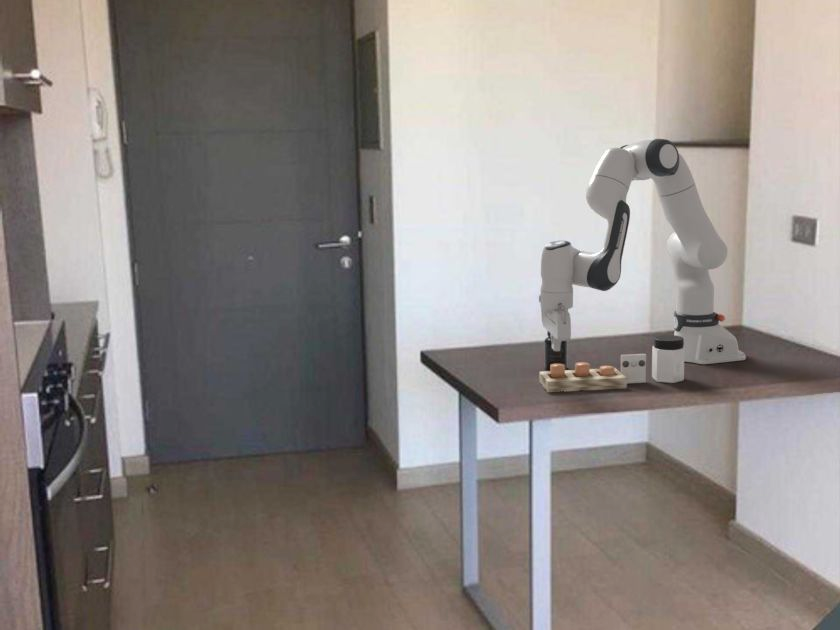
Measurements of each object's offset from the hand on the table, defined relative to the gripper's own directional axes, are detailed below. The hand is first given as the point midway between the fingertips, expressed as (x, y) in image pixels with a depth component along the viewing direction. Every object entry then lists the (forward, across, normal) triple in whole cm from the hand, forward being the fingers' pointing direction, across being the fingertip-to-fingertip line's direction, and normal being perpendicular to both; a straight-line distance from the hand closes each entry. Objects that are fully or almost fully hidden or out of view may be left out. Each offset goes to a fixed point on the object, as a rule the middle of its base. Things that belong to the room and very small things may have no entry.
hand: (555, 350), depth 273 cm
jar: (+10, +2, -33) cm, 34 cm away
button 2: (+8, 0, -15) cm, 17 cm away
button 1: (+7, 0, -1) cm, 7 cm away
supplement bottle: (+10, +19, -4) cm, 23 cm away
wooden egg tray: (+10, 0, -8) cm, 13 cm away
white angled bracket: (+10, 0, -22) cm, 24 cm away
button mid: (+7, 0, -8) cm, 10 cm away
